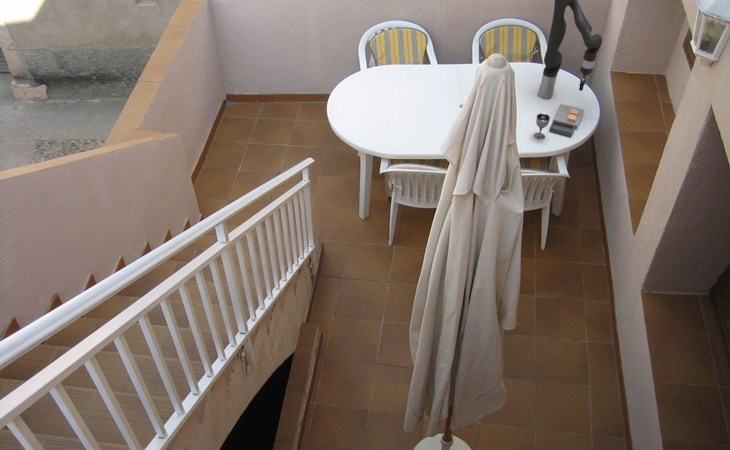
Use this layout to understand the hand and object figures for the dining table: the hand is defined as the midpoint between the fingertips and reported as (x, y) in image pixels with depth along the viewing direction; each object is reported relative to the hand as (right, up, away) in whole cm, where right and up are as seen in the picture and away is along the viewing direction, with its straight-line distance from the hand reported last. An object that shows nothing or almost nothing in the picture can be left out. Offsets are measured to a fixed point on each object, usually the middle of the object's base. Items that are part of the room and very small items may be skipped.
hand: (581, 87), depth 441 cm
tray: (-13, -28, +1) cm, 31 cm away
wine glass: (-28, -32, -3) cm, 43 cm away
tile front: (-6, -20, +3) cm, 22 cm away
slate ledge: (-6, -18, +10) cm, 22 cm away
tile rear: (-3, -16, +8) cm, 18 cm away
